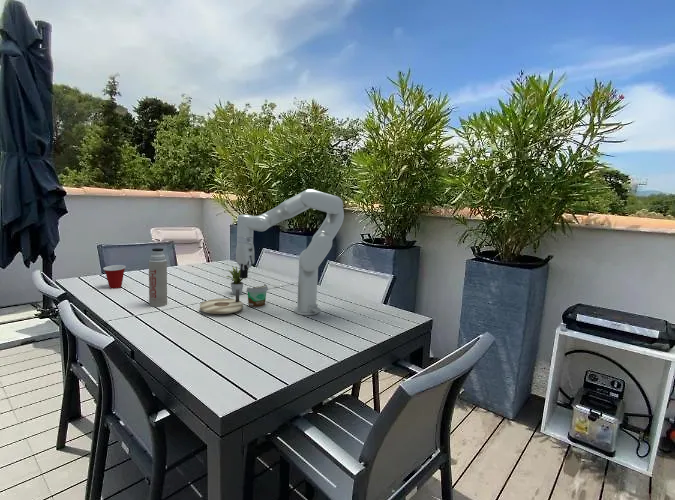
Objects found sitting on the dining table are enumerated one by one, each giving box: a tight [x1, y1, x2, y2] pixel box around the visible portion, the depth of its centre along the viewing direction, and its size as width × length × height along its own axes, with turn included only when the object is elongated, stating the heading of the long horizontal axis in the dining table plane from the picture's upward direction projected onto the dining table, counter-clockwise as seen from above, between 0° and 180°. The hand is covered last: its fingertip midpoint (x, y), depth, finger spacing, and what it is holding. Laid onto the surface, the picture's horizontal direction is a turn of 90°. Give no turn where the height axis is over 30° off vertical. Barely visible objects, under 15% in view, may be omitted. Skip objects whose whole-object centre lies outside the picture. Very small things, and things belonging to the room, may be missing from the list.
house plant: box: [225, 266, 251, 296], centre depth 204 cm, size 14×14×16 cm
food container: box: [246, 283, 269, 308], centre depth 186 cm, size 12×6×10 cm, turn 143°
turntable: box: [199, 289, 244, 315], centre depth 176 cm, size 20×20×9 cm
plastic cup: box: [102, 264, 126, 290], centre depth 204 cm, size 11×11×12 cm
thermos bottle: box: [148, 247, 168, 308], centre depth 178 cm, size 8×8×28 cm
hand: (243, 277), depth 176 cm, fingers closed
